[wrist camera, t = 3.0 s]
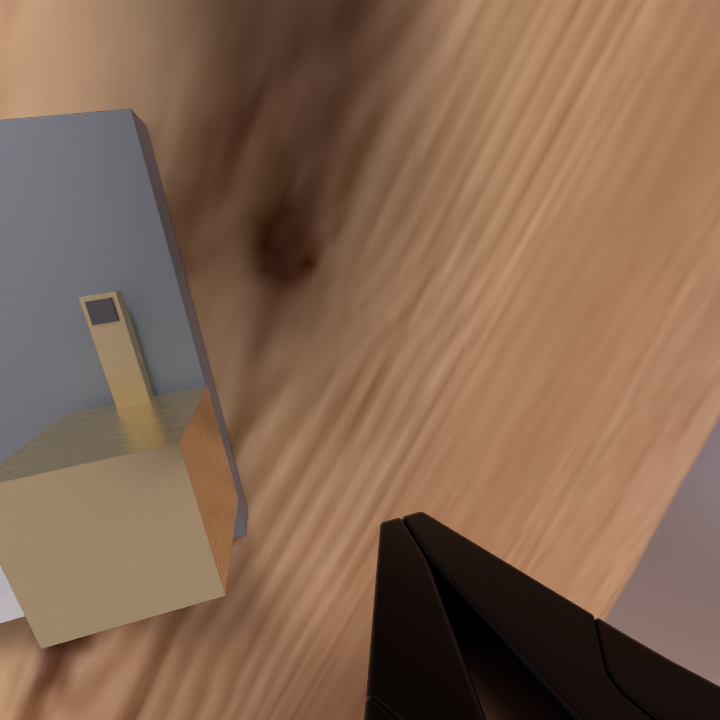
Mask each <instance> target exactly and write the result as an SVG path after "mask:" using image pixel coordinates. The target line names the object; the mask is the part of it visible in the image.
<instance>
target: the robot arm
mask: <svg viewBox="0 0 720 720" xmlns="http://www.w3.org/2000/svg"><path fill="white" fill-rule="evenodd" d="M366 696H367V700H366V702H365V714H364V720H720V686H717V685H715V684H714V683H712V682H710V681H708V680H706V679H705V678H703V677H700V676H699V675H697V674H695V673H693V672H691V671H689V670H688V669H686V668H684V667H682V666H680V665H678V664H676V663H675V662H673V661H671V660H669V659H667V658H665V657H664V656H662V655H660V654H658V653H657V652H655V651H653V650H652V649H650V648H648V647H646V646H645V645H643V644H641V643H640V642H638V641H636V640H634V639H633V638H631V637H629V636H627V635H626V634H624V633H622V632H621V631H619V630H617V629H616V628H614V627H612V626H611V625H609V624H607V623H606V622H604V621H603V620H601V619H599V618H597V619H594V616H593V615H592V614H591V613H589V612H587V611H586V610H584V609H582V608H581V607H579V606H577V605H576V604H574V603H572V602H571V601H569V600H568V599H566V598H564V597H563V596H561V595H559V594H558V593H556V592H554V591H553V590H551V589H549V588H548V587H546V586H544V585H543V584H541V583H539V582H538V581H536V580H535V579H533V578H531V577H530V576H528V575H526V574H525V573H523V572H521V571H520V570H518V569H516V568H515V567H513V566H511V565H510V564H508V563H506V562H505V561H503V560H501V559H500V558H498V557H497V556H495V555H493V554H492V553H490V552H488V551H487V550H485V549H483V548H482V547H480V546H478V545H477V544H475V543H473V542H472V541H470V540H468V539H467V538H465V537H463V536H462V535H460V534H459V533H457V532H455V531H454V530H452V529H450V528H449V527H447V526H445V525H444V524H442V523H440V522H439V521H437V520H435V519H434V518H432V517H430V516H429V515H427V514H425V513H423V512H417V513H414V514H410V515H407V516H404V517H403V519H400V518H396V519H392V520H388V521H385V522H382V523H381V525H380V536H379V548H378V560H377V572H376V584H375V597H374V609H373V621H372V633H371V646H370V658H369V670H368V682H367V694H366Z"/></svg>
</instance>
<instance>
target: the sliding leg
mask: <svg viewBox="0 0 720 720" xmlns="http://www.w3.org/2000/svg"><path fill="white" fill-rule="evenodd" d="M79 300H80V303H81V306H82V309H83V312H84V315H85V318H86V320H87V323H88V326H89V329H90V332H91V335H92V338H93V341H94V344H95V347H96V350H97V353H98V355H99V358H100V361H101V364H102V367H103V370H104V373H105V376H106V379H107V382H108V385H109V387H110V390H111V393H112V396H113V399H114V402H115V404H113V405H108V406H103V407H98V408H93V409H88V410H83V411H78V412H73V413H68V414H65V415H64V416H62V417H61V418H60V419H58V420H57V421H56V422H54V423H53V424H52V425H50V426H49V427H48V428H46V429H45V430H44V431H42V432H41V433H40V434H38V435H37V436H36V437H34V438H33V439H32V440H30V441H29V442H28V443H26V444H25V445H24V446H22V447H21V448H20V449H18V450H17V451H16V452H14V453H13V454H12V455H10V456H9V457H8V458H6V459H5V460H4V461H2V462H1V463H0V566H1V568H2V570H3V572H4V574H5V576H6V578H7V580H8V582H9V584H10V586H11V589H12V591H13V593H14V595H15V597H16V599H17V601H18V603H19V605H20V607H21V609H22V611H23V613H24V615H25V617H26V619H27V621H28V623H29V625H30V627H31V629H32V631H33V633H34V635H35V637H36V640H37V642H38V644H39V646H40V648H41V649H42V648H46V647H49V646H53V645H56V644H60V643H63V642H66V641H70V640H73V639H77V638H80V637H84V636H87V635H91V634H94V633H98V632H101V631H105V630H108V629H112V628H115V627H118V626H122V625H125V624H129V623H132V622H136V621H139V620H143V619H146V618H150V617H153V616H157V615H160V614H164V613H167V612H170V611H174V610H177V609H181V608H184V607H188V606H191V605H195V604H198V603H202V602H205V601H209V600H212V599H216V598H219V597H223V596H225V593H226V586H227V579H228V571H229V564H230V557H231V549H232V542H233V535H234V528H235V520H236V513H237V506H238V496H237V493H236V489H235V485H234V481H233V478H232V474H231V470H230V467H229V463H228V459H227V455H226V452H225V448H224V444H223V441H222V437H221V433H220V429H219V426H218V422H217V418H216V415H215V411H214V407H213V403H212V400H211V396H210V392H209V389H208V386H203V387H198V388H193V389H188V390H183V391H178V392H173V393H168V394H163V395H158V396H154V393H153V389H152V386H151V383H150V380H149V377H148V373H147V370H146V367H145V364H144V361H143V357H142V354H141V351H140V348H139V344H138V341H137V338H136V335H135V332H134V328H133V325H132V322H131V319H130V316H129V312H128V309H127V306H126V303H125V300H124V296H123V293H122V290H120V291H114V292H107V293H101V294H95V295H88V296H83V297H79Z"/></svg>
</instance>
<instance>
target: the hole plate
mask: <svg viewBox="0 0 720 720" xmlns="http://www.w3.org/2000/svg"><path fill="white" fill-rule="evenodd" d="M120 290H122V293H123V296H124V300H125V303H126V306H127V309H128V312H129V316H130V319H131V322H132V325H133V328H134V332H135V335H136V338H137V341H138V344H139V348H140V351H141V354H142V357H143V361H144V364H145V367H146V370H147V373H148V377H149V380H150V383H151V386H152V389H153V393H154V396H158V395H163V394H168V393H173V392H178V391H183V390H188V389H193V388H198V387H203V386H208V389H209V392H210V396H211V400H212V403H213V407H214V411H215V415H216V418H217V422H218V426H219V429H220V433H221V437H222V441H223V444H224V448H225V452H226V455H227V459H228V463H229V467H230V470H231V474H232V478H233V481H234V485H235V489H236V493H237V496H238V506H237V513H236V520H235V528H234V535H233V538H237V537H241V536H244V535H246V530H247V519H248V510H247V506H246V502H245V498H244V495H243V491H242V487H241V483H240V479H239V476H238V472H237V468H236V464H235V460H234V457H233V453H232V449H231V445H230V442H229V438H228V434H227V430H226V426H225V423H224V419H223V415H222V411H221V407H220V404H219V400H218V396H217V392H216V389H215V385H214V381H213V377H212V373H211V370H210V366H209V362H208V358H207V354H206V351H205V347H204V343H203V339H202V336H201V332H200V328H199V324H198V320H197V317H196V313H195V309H194V305H193V301H192V298H191V294H190V290H189V286H188V282H187V279H186V275H185V271H184V267H183V264H182V260H181V256H180V252H179V248H178V245H177V241H176V237H175V233H174V229H173V226H172V222H171V218H170V214H169V211H168V207H167V203H166V199H165V195H164V192H163V188H162V184H161V180H160V176H159V173H158V169H157V165H156V161H155V158H154V154H153V150H152V146H151V142H150V139H149V135H148V131H147V127H146V125H145V124H144V123H143V122H142V121H141V119H140V118H139V117H138V116H137V115H136V114H135V113H134V112H133V111H132V110H131V109H123V110H111V111H99V112H87V113H75V114H64V115H52V116H40V117H28V118H16V119H4V120H0V463H1V462H2V461H4V460H5V459H6V458H8V457H9V456H10V455H12V454H13V453H14V452H16V451H17V450H18V449H20V448H21V447H22V446H24V445H25V444H26V443H28V442H29V441H30V440H32V439H33V438H34V437H36V436H37V435H38V434H40V433H41V432H42V431H44V430H45V429H46V428H48V427H49V426H50V425H52V424H53V423H54V422H56V421H57V420H58V419H60V418H61V417H62V416H64V415H65V414H68V413H73V412H78V411H83V410H88V409H93V408H98V407H103V406H108V405H113V404H115V402H114V399H113V396H112V393H111V390H110V387H109V385H108V382H107V379H106V376H105V373H104V370H103V367H102V364H101V361H100V358H99V355H98V353H97V350H96V347H95V344H94V341H93V338H92V335H91V332H90V329H89V326H88V323H87V320H86V318H85V315H84V312H83V309H82V306H81V303H80V300H79V297H83V296H88V295H95V294H101V293H107V292H114V291H120ZM21 617H25V615H24V613H23V611H22V609H21V607H20V605H19V603H18V601H17V599H16V597H15V595H14V593H13V591H12V589H11V586H10V584H9V582H8V580H7V578H6V576H5V574H4V572H3V570H2V568H1V566H0V623H3V622H6V621H10V620H14V619H17V618H21Z"/></svg>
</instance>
